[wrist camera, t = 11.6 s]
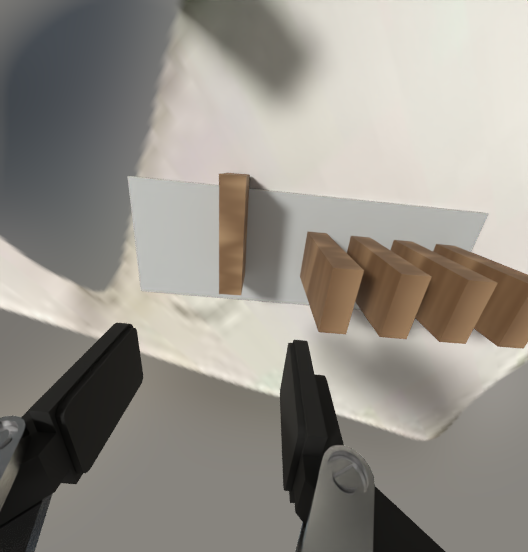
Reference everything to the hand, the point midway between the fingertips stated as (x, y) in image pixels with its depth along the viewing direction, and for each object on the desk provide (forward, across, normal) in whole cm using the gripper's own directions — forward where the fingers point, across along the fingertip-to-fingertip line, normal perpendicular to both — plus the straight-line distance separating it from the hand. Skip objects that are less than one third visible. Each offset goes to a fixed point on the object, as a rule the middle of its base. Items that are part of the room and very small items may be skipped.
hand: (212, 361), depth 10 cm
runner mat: (+17, -6, 0) cm, 18 cm away
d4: (+17, -7, 0) cm, 18 cm away
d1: (+17, -20, 0) cm, 27 cm away
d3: (+17, -12, 0) cm, 20 cm away
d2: (+17, -16, 0) cm, 23 cm away
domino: (+14, +1, -7) cm, 16 cm away
